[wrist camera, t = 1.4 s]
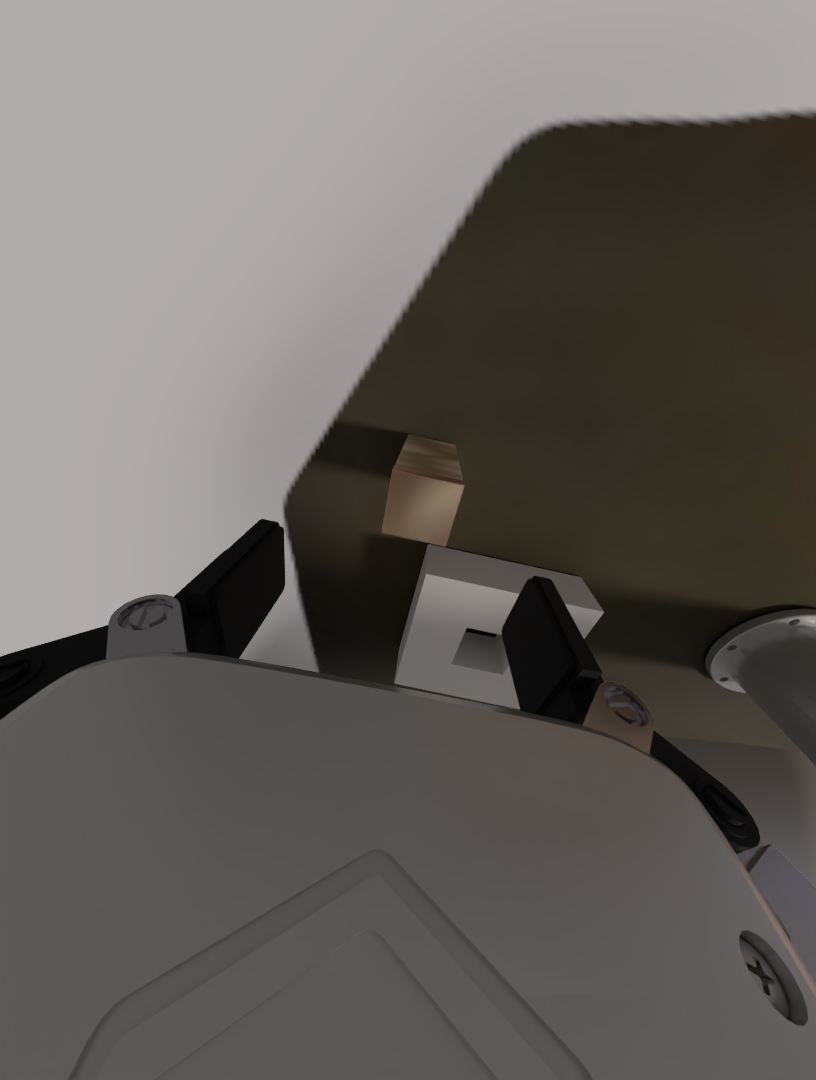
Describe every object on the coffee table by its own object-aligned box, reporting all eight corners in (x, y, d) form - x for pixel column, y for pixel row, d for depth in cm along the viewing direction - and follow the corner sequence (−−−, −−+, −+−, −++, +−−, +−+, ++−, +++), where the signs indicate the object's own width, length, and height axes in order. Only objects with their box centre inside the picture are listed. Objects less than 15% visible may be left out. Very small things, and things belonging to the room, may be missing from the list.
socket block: (580, 577, 30) (604, 612, 26) (520, 672, 39) (530, 711, 34) (427, 543, 30) (426, 573, 26) (399, 647, 38) (394, 683, 34)
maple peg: (455, 444, 25) (464, 485, 16) (443, 488, 27) (445, 546, 18) (408, 433, 25) (392, 469, 16) (399, 479, 27) (381, 532, 18)
